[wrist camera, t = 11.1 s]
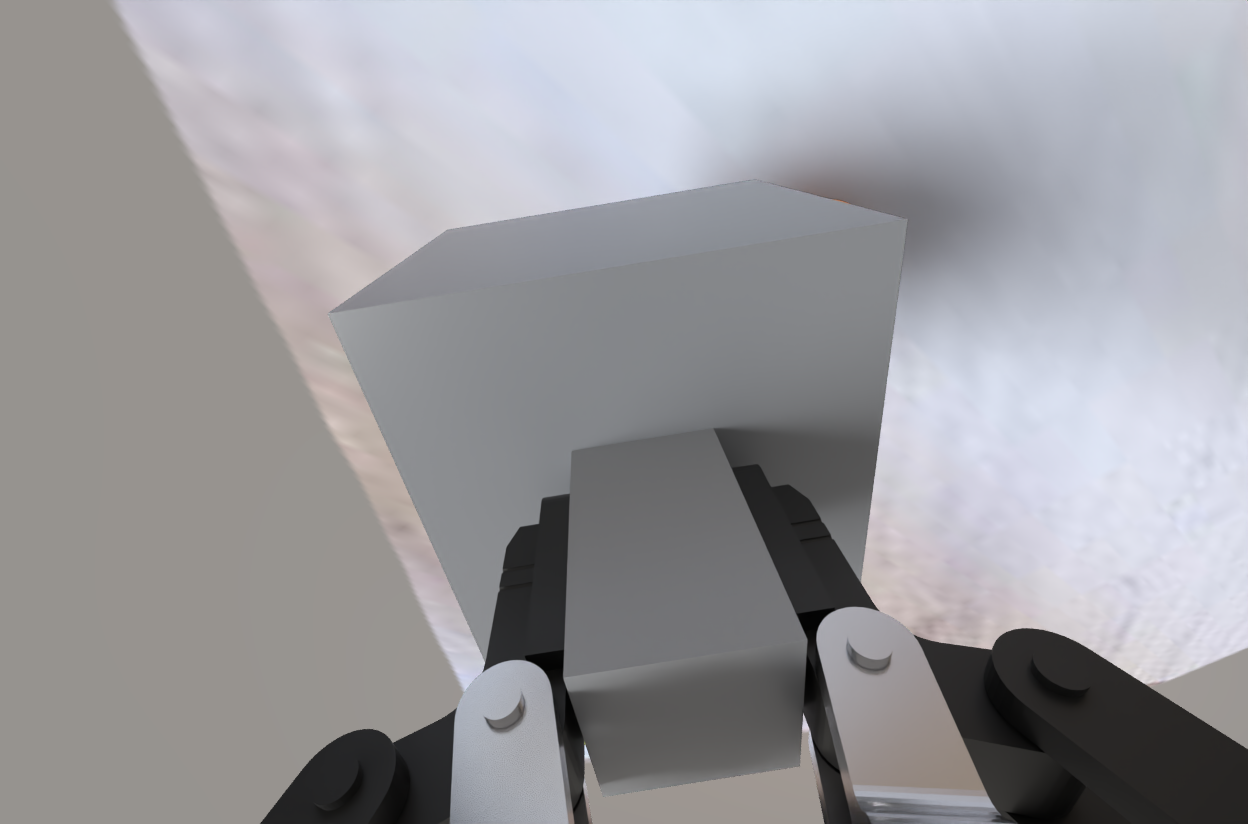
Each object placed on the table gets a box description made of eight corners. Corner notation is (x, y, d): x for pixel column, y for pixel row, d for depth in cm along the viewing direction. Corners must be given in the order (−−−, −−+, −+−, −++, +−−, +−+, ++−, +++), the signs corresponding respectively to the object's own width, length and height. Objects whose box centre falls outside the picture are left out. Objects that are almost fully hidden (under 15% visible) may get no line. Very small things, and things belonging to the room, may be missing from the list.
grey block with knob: (754, 179, 16) (1239, 305, 4) (758, 439, 21) (986, 835, 9) (447, 229, 16) (71, 493, 4) (522, 477, 21) (444, 919, 9)
